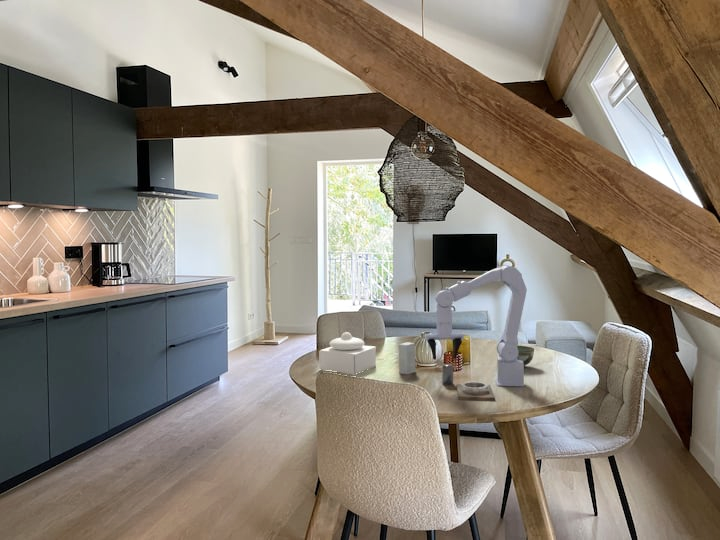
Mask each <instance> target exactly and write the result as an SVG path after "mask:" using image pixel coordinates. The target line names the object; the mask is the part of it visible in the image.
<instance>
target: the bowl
mask: <svg viewBox="0 0 720 540" xmlns="http://www.w3.org/2000/svg"><path fill="white" fill-rule="evenodd" d="M517 348H518V352H519V354H518V357H517V360H521V361H523V364H524V369H525V368H526V366H527V365H529V364H530V363H531V362H532V361H533V358H534V353H535V348H534V347H531V346H527V345H526V346H525V345H518V346H517Z"/></svg>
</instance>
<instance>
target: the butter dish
mask: <svg viewBox="0 0 720 540" xmlns="http://www.w3.org/2000/svg"><path fill="white" fill-rule="evenodd" d="M376 349H377V346H373V345H365V341H364V340H363V339H361V338H359V337H354V336H353V335H352V334H351V333H350V332H348V331H345V332H343V333H342V334H341V336H340V337H337V338H334V339H331V340H330V341H329V347H326V348H323V349H320V350H319V351H318V365H319V366H318V367H319V368H318V369H321V370H332V371H337V372H342V373H347V374H346V375H349V374H356V373H359V372H361V373H363V372H362V371H364V372H366V371H368V370H367V369H369V370H371V369H372V368H375V366H377V365H376V364H377V363H376V362H377V361H376V359H377V357H376V355H377V353H376V352H377V351H376ZM370 368H371V369H370ZM365 370H366V371H365ZM329 373H332V372H331V371H330V372H329ZM342 373H341V374H342ZM359 374H360V373H359Z"/></svg>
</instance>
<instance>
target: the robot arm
mask: <svg viewBox="0 0 720 540" xmlns="http://www.w3.org/2000/svg"><path fill="white" fill-rule="evenodd" d="M490 282H499V283H500V282H501V283H504V284H506V286H507V287H508V288H509V290H510V291H511V296H510V300H509V306H508V310H507V316H506V319H505V325H504V329H503V330H504V331H503V332H502V335H501V337H500V339H499V342H498V343H497V345H496V352H497V353H498V356H497V365H496V366H497V369H496V370H497V373H496V374H497V377H496V378H497V379H494V381H495V383H496V384H497V387H498V386H499V387H525V383H524V382H525V368H524V364H523V361H521V360H517V357H518V354H519V352H518V348H517V346H519V345H518V344H519V339H518V334H519V329H520V324H521V322H522V321H521V320H522V315H523V311H524V306H525V301H526V296H527V286H526V284H525V281H524V279H523V274H522V273H521V272H520V270H519V269H518V268H516V267H515V266H512V265H511V266H510V265H506V264H504V265H501V266H500V267H496V268H493V269H491V270H489V271H487V272H485V273H483V274H481V275H479V276H477V277H476V278H474V279H471V280H469V281H466V280H457V282H456V284H453V285H452V286H450V287H448V286H446V287H445V290H440V291H438V292H437V293H436V295H435V302H436V303H437V304H436V313H435V314H436V316H435V317H436V333H431V334H430V333H429V334H424V340H425V341H426V342H427V343H428V346H429V348H430V350H431V354H432V359H433V360H437V352H436V351H437V342H436V341H439V340H441V341H442V340H446V341H447V340H452V358H453V359H454V360H456V359H457V356H458V352H459V349H460V347H461V345H462V342H463V340H465V334H464V333H461V332H460V333H459V332H458V333H453V310H452V305H453V302H454V303H455V302H458V301H459V300H462V299H464V298H466V297H468V296H470V295H471V294H472V291H473V290H474V289H478V288H479V287H482V286H483V285H486V284H488V283H490Z"/></svg>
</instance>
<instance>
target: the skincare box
mask: <svg viewBox="0 0 720 540" xmlns="http://www.w3.org/2000/svg"><path fill="white" fill-rule="evenodd" d="M398 367H399V368H398V369H399V370H398V372H399V374H403V375H406V376H407V375H410V374H412V373H415V372H416V343H415V342H409V341H408V342H407V341H406V342H402V343H399V344H398Z"/></svg>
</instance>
